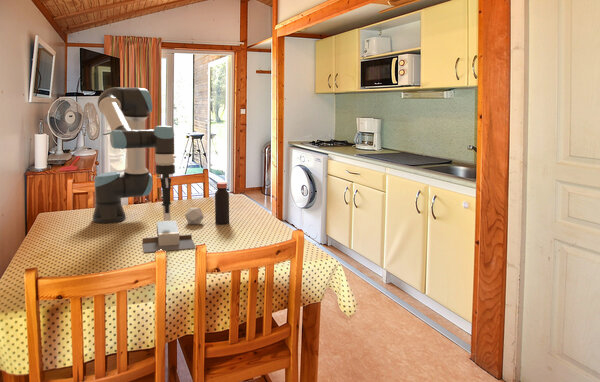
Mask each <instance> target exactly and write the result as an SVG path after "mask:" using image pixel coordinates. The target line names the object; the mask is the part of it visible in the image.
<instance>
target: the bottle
mask: <svg viewBox="0 0 600 382" xmlns="http://www.w3.org/2000/svg"><path fill="white" fill-rule="evenodd" d="M227 188H228V183H227V182H222V181H220V182H217V183H216V189H217V190H216V192H215V193H214V218H215V219H214V221H215V224H216V225H221V226H223V225H228V224H229V223H230V193H229V191H228V190H227Z"/></svg>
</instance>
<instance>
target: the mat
mask: <svg viewBox="0 0 600 382" xmlns="http://www.w3.org/2000/svg"><path fill="white" fill-rule="evenodd" d="M195 246H196V244H195V243H194V241H193V239H180V240H179V244H177V245H165V246H159V242H158V241H154V242H143V241H142V248H143V254H149V253H150V254H151V253H156V252H155V251H158V250H160V249H162V250H165V251H164V252H173V251H175V250H176V251H186V250H185V249H187V250H195V249H194V248H195Z"/></svg>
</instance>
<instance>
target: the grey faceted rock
mask: <svg viewBox="0 0 600 382" xmlns="http://www.w3.org/2000/svg"><path fill="white" fill-rule="evenodd" d="M184 216H185V219H186V221H187V224H188V225H200V223H201V222H202V221H203V219H204V217H205V216H204V213H203V211H202V209H201V207H189V208H188V210H187V211H186V213H185V214H184Z"/></svg>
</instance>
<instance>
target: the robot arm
mask: <svg viewBox="0 0 600 382" xmlns="http://www.w3.org/2000/svg"><path fill="white" fill-rule="evenodd" d="M97 108H98V110H99V112H100V113H101V114H102V115H104V117H105V119H106V121H107V123H108V125H109V128H110V130H111V131H110V134H109V142H110V146H111V148H113V149H116V150H117V149H119V150H124V149H125V150H126V168H125V169H124V170H123V174H121V173H120V172H119V171H108V172H103V173H99V174H97V175H96V176H95V177H94V182H93V183H94V185H93V187H94V196H95V199H94V200H95V207H94V210H93V213H92V222H93V223H98V224H112V223H119V222H123V221H125V220H126V218H127V216H126V212H125V209H124V207H123V204H122V199H124V198H125V199H126V198H137V197H138V198H139V197H140V198H141V197H145V196H146V197H147V196H149V195H150V194H151V193H152V190H153V184H154V183H153V176H152V174H151V173H150V172H149V169H148V168H147V167H146V149H153V148H154V152H155V153H154V155H155V156H154V157H155V158H154V159H155V160H154V161H155V174H156V175H162V176H161V177H160V182H161V183H160V186H161V191H162V193H161V194H162V203H161V206H162V210H163V211H162V212H163V221H172V219H171V205H172V202H171V188H172V187H171V184H172V178H171V177H170V175H174V174H175V173H176V165H175V159H176V158H177V156H176V155H175V132H174V127H173V126H171V125H156V126H154V128H152V129H146V120H147V119H148V118H149V114H150V113H152V112H153V100H152V96H151V93H150V92H149V90H148V89H146V88H144V87H143V88H141V87H121V86H119V87H117V86H114V87H110V88H107V89H104V91H102V92H101V94H100V95H99V96H98V99H97Z"/></svg>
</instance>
